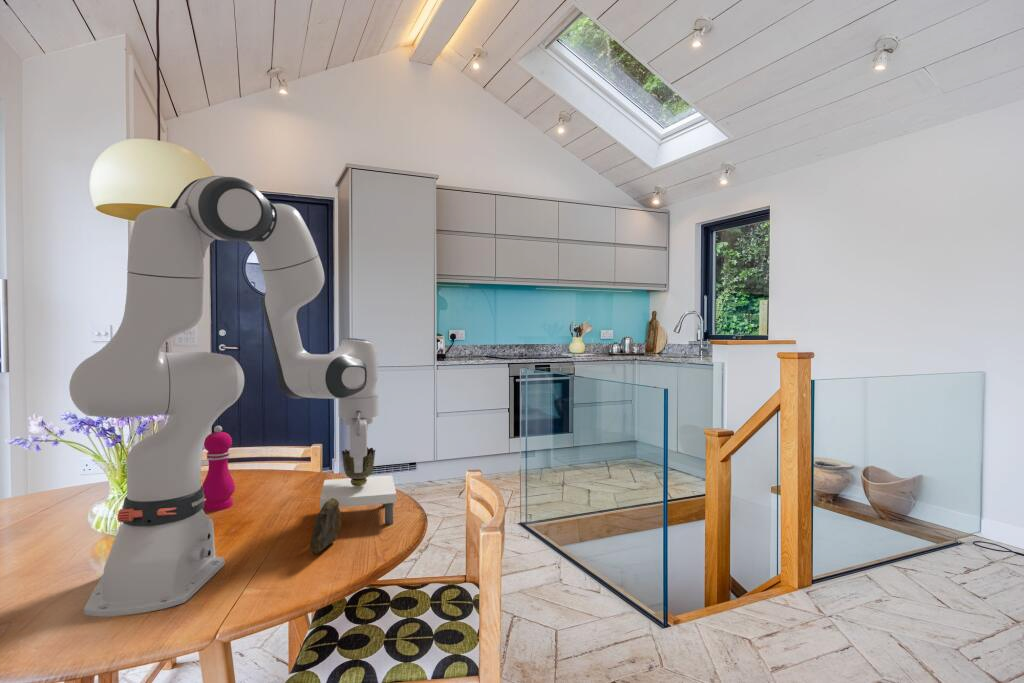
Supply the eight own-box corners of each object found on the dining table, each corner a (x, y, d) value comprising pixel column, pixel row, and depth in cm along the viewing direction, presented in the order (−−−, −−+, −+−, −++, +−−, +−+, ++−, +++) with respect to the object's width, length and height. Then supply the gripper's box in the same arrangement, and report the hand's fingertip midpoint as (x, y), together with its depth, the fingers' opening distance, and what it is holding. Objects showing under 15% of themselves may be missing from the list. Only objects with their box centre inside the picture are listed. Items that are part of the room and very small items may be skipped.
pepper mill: (224, 512, 127) (224, 428, 127) (194, 512, 127) (194, 428, 127) (240, 502, 135) (240, 423, 134) (212, 502, 135) (212, 423, 134)
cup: (337, 489, 120) (337, 453, 120) (346, 480, 128) (346, 446, 128) (371, 489, 121) (371, 453, 120) (378, 480, 128) (378, 446, 128)
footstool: (396, 525, 119) (396, 493, 119) (319, 532, 115) (319, 499, 115) (392, 503, 135) (392, 475, 134) (324, 508, 130) (324, 479, 130)
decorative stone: (344, 492, 108) (327, 488, 109) (321, 517, 99) (303, 513, 100) (340, 537, 111) (324, 533, 111) (318, 565, 102) (301, 562, 102)
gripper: (373, 414, 115) (373, 478, 115) (371, 402, 135) (371, 457, 135) (342, 415, 113) (342, 481, 114) (345, 403, 133) (345, 459, 133)
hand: (358, 468), depth 124 cm, fingers closed on cup, 6 cm apart
